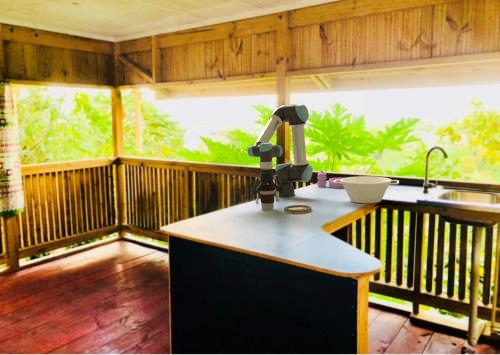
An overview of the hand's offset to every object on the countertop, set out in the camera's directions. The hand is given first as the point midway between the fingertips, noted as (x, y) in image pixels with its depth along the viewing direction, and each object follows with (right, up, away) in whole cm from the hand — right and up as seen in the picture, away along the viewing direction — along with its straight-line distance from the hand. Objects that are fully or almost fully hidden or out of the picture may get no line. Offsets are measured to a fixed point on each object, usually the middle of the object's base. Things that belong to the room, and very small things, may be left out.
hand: (267, 202), depth 245 cm
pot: (+64, 0, +14) cm, 66 cm away
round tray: (+18, -4, -7) cm, 19 cm away
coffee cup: (0, -4, +1) cm, 4 cm away
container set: (+56, +8, +77) cm, 96 cm away
